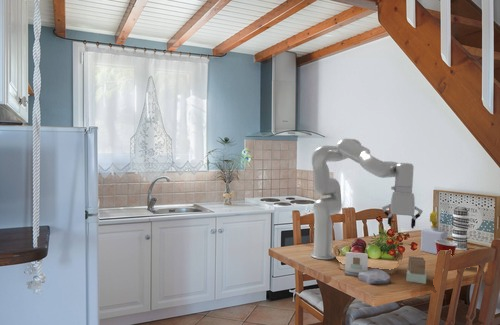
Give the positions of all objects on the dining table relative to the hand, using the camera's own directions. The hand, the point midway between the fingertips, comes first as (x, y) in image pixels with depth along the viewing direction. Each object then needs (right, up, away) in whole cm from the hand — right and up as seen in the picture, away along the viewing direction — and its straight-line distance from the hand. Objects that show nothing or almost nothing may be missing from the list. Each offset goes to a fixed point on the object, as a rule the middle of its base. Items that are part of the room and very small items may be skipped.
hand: (401, 226), depth 181 cm
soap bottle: (+36, -23, +46) cm, 63 cm away
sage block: (+6, -24, -3) cm, 25 cm away
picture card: (-20, -23, +3) cm, 30 cm away
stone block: (-14, -24, -6) cm, 28 cm away
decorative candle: (+57, -23, +57) cm, 84 cm away
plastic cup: (+31, -23, +22) cm, 45 cm away
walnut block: (+6, -20, -3) cm, 21 cm away
